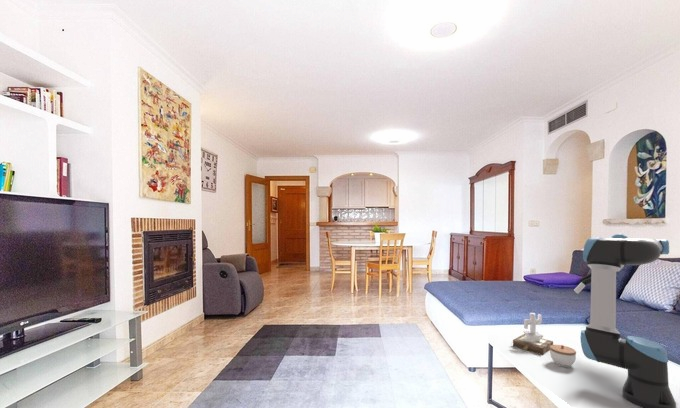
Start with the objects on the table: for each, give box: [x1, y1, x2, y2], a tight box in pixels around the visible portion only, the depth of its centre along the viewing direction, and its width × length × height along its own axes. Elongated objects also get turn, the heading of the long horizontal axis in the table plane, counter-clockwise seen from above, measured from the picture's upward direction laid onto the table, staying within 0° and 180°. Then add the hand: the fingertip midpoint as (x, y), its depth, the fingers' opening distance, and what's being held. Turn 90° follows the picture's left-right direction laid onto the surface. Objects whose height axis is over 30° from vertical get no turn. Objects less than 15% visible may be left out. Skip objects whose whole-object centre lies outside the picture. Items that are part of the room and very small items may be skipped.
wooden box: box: [512, 333, 554, 356], centre depth 179 cm, size 20×15×4 cm
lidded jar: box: [549, 344, 577, 368], centre depth 158 cm, size 11×11×9 cm
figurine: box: [523, 312, 544, 341], centre depth 180 cm, size 7×9×15 cm
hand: (584, 294), depth 174 cm, fingers open, 13 cm apart
